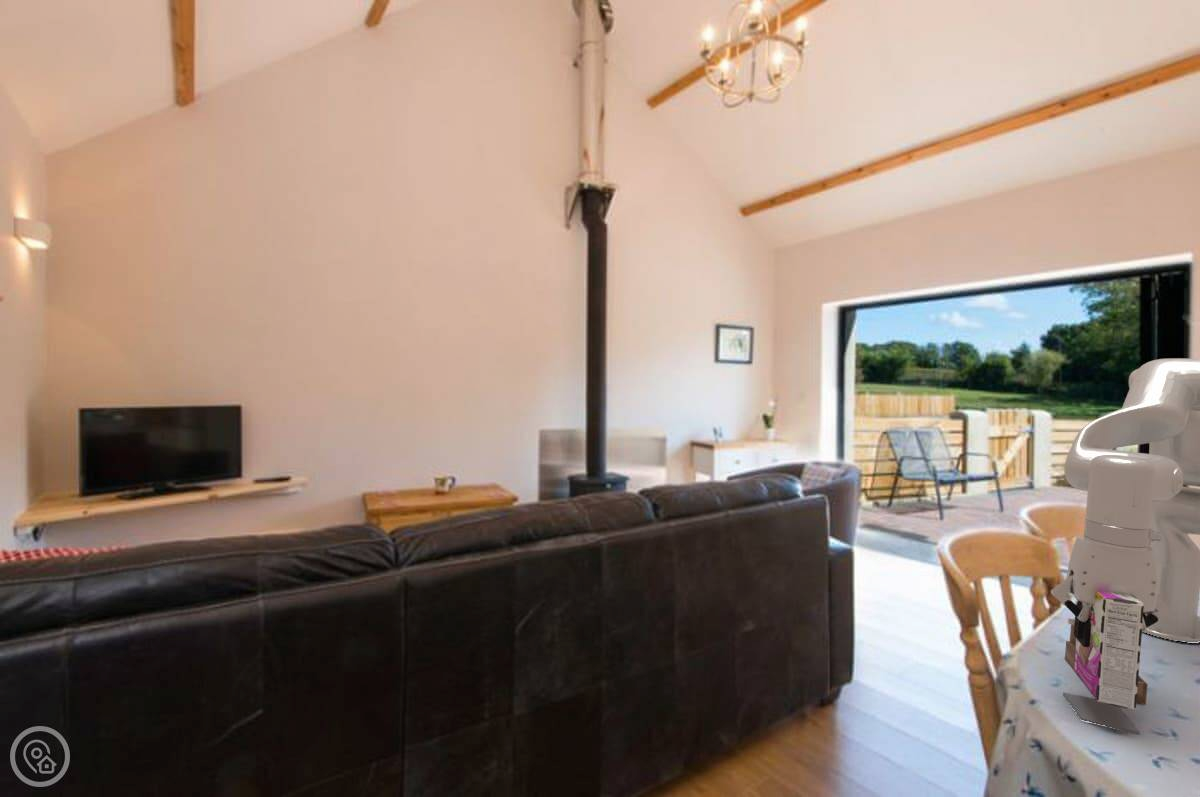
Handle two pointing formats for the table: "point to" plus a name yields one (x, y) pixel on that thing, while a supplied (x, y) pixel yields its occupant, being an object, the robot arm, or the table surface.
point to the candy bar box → (1112, 650)
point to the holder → (1070, 659)
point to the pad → (1100, 713)
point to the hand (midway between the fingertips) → (1105, 646)
